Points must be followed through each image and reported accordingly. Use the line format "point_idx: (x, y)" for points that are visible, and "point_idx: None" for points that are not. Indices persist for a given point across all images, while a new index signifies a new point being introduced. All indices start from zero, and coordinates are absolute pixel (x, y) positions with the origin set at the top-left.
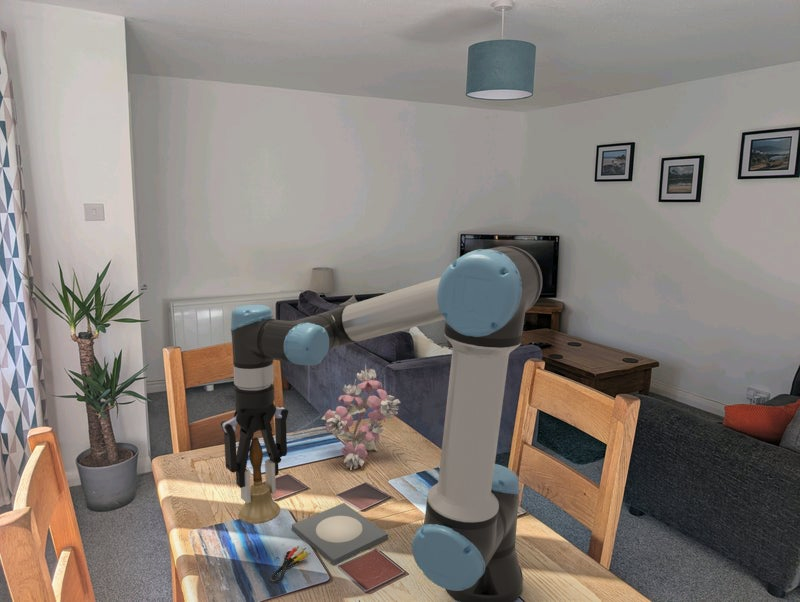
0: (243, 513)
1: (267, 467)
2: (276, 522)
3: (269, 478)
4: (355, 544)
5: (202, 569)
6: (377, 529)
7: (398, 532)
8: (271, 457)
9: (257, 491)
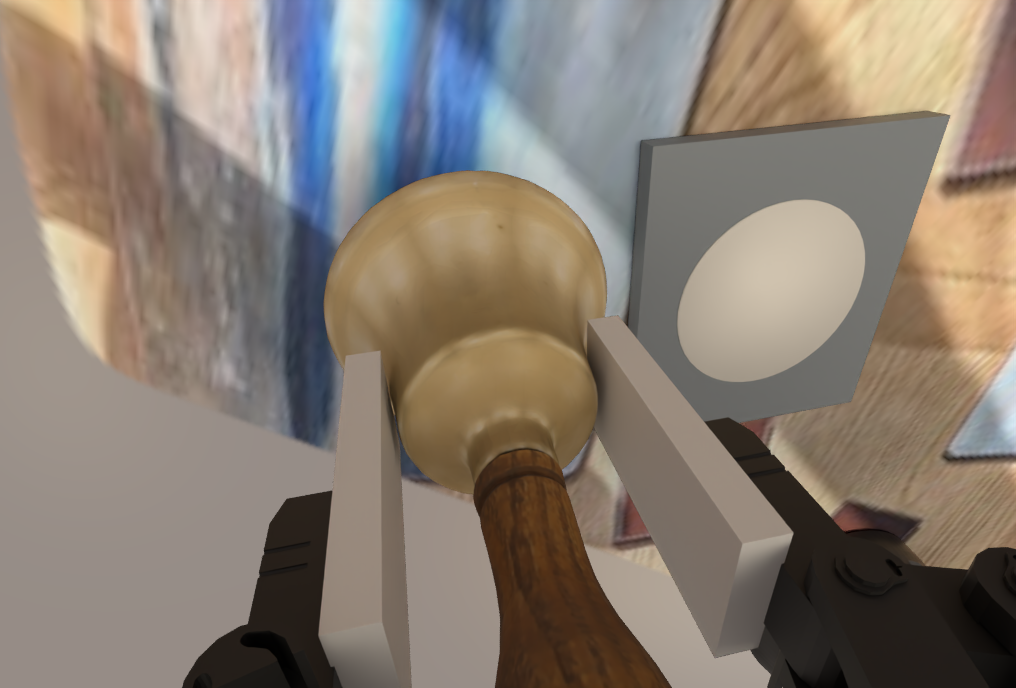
0: (352, 344)
1: (687, 516)
2: (619, 18)
3: (633, 463)
4: (737, 405)
5: (133, 214)
6: (851, 367)
7: (885, 376)
8: (804, 652)
9: (469, 486)
